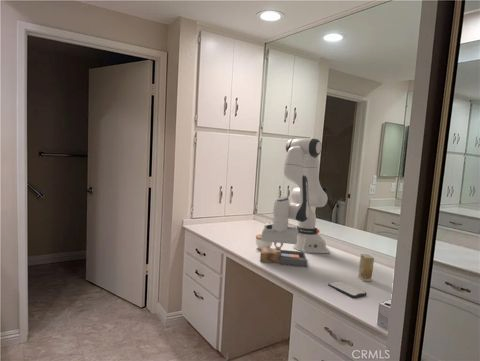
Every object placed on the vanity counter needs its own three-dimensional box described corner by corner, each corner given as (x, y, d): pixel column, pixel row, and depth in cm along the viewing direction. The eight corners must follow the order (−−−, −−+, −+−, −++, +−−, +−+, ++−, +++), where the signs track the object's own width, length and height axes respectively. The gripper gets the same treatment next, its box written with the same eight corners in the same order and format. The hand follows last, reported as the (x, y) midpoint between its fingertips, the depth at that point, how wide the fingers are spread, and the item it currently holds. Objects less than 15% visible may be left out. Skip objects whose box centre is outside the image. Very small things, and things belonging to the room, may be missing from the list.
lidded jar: (258, 251, 207) (259, 236, 206) (252, 246, 217) (253, 231, 217) (274, 251, 210) (275, 236, 209) (268, 246, 220) (269, 231, 220)
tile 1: (289, 254, 195) (289, 258, 195) (290, 256, 190) (289, 261, 190) (298, 254, 194) (298, 259, 195) (299, 257, 190) (298, 262, 190)
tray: (303, 257, 200) (304, 252, 200) (306, 266, 184) (306, 260, 184) (279, 255, 201) (280, 249, 201) (280, 264, 186) (280, 258, 185)
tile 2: (289, 258, 195) (289, 254, 195) (289, 261, 190) (290, 256, 190) (280, 257, 196) (280, 253, 196) (280, 260, 191) (281, 255, 191)
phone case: (326, 286, 160) (353, 299, 146) (326, 283, 160) (354, 296, 146) (339, 283, 165) (367, 296, 151) (340, 280, 165) (367, 292, 151)
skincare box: (357, 277, 174) (360, 253, 173) (366, 277, 174) (368, 253, 173) (363, 281, 168) (365, 257, 166) (371, 282, 168) (374, 257, 167)
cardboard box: (279, 256, 199) (280, 249, 199) (280, 263, 187) (280, 255, 187) (261, 254, 200) (261, 247, 200) (260, 261, 189) (260, 253, 188)
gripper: (298, 226, 194) (296, 250, 195) (262, 223, 196) (260, 246, 197) (299, 228, 188) (297, 253, 189) (261, 225, 190) (260, 250, 191)
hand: (278, 250), depth 193 cm, fingers closed
